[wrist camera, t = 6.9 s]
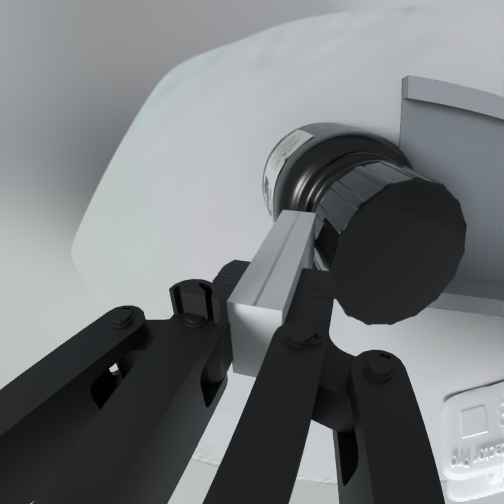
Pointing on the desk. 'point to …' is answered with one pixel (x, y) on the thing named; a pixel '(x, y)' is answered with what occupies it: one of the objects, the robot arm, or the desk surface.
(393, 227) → the ink bottle
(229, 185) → the desk surface
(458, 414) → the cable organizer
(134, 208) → the desk surface
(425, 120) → the tray
